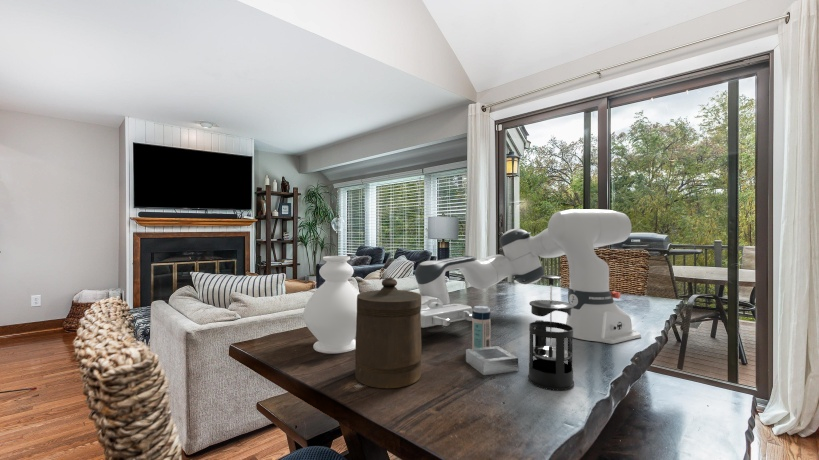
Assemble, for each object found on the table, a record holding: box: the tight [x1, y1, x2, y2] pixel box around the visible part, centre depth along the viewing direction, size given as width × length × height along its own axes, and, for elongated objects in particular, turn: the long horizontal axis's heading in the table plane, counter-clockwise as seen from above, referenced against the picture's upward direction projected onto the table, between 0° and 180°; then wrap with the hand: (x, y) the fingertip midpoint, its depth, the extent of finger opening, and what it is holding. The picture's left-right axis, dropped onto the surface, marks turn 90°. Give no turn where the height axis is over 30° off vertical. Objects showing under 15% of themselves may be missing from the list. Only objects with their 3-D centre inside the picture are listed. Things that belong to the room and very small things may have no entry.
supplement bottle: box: [471, 304, 491, 349], centre depth 100 cm, size 5×5×12 cm
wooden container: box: [354, 277, 422, 389], centre depth 84 cm, size 15×15×22 cm
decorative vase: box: [303, 255, 361, 354], centre depth 104 cm, size 18×18×25 cm
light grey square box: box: [465, 345, 519, 376], centre depth 89 cm, size 9×9×3 cm
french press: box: [527, 274, 575, 392], centre depth 81 cm, size 12×9×23 cm
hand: (460, 320), depth 107 cm, fingers open, 8 cm apart
